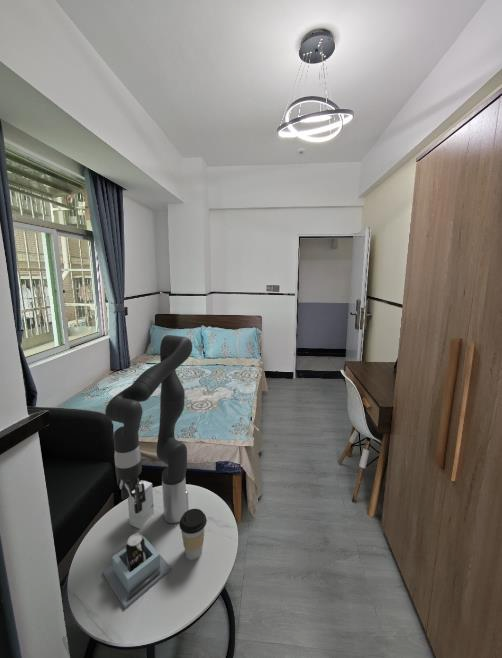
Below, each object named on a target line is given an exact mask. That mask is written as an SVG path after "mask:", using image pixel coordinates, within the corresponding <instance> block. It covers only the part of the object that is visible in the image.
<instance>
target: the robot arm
mask: <svg viewBox="0 0 502 658" xmlns="http://www.w3.org/2000/svg"><path fill="white" fill-rule="evenodd" d="M192 352H193V342H192V340H191V338H189V337H186V336H182V335H180V336H179V335H173V334H172V335H171V334H166V335H165V336H163V337H162V339H161V341H160V346H159V358H160V359H159V360H160V361H159V362H158V363H156V364H154V365H152V366H150V367H149V368H146V370H144V371H143V372H142V373H141V374H140V375H139V376H138V377H137V378H136V379H135V380H134V382H132V384H131V385H129V386H127V387H126V388H125V389H123V390H121V391H120V392H119V393H117V394H116V395H114V396H113V397H112V398H111V399H110V400H109V402H108V403H107V405H106V407H105V410H104V412H105V417H106V418H107V419H108V420H109V421H111V422H115V423H116V422H117V423H121V424H123V426H120V427H117V429H115V431H114V432H113V445H114V455H113V456H114V457H113V458H114V466H115V467H114V468H115V475H116V484H117V486H119V489H120V491H121V499H122V500H123V501H125V500H126V499H127V500H128V497H129V495H130V497H132V498H133V501H134V511H135V513H136V514H137V513H139V512H140V511H142V503H143V502H145V501H146V497H145V488H144V484H143V483H142V484H139V482H140V478H139V475H140V474H141V472H142V471H143V470H142V469H143V466H142V465H143V464H142V454H141V453H142V452H141V447H140V441H139V439H140V438H139V431H140V427H141V421H142V418H143V407H142V404H141V402H146V401H147V400H149V399H150V397H152V395H153V394H154V392H156V390H157V388H158V387H160V400H159V401H160V402H159V403H160V404H159V405H160V406H159V409H160V410H159V428H158V435H157V443H156V456H157V458H158V459H159V460H160V461H161V462H163V463H164V464H165V465H166V464H167V467H165V468H164V469H163V471H162V473H161V487H162V488H161V489H162V504H163V508H162V509H163V519H164V521H165V522H167V523H168V524H177V523H180V519H181V517H182V516H183V514H184V513H185V512H186V511H188V510H190V508H189V492H188V490H187V484H186V483H187V482H186V473H187V470H188V469H187V468H188V448H187V445H186V444H185V443H184V442H182V441H180V440H178V439H176V438H175V437H176V436H175V429H176V423H177V422H178V420H179V419H180V417H181V415H182V414H183V411H184V409H185V401H186V400H185V397H186V396H185V395H186V394H185V389H184V385H183V384H182V382H181V379H180V378H179V376H178V374H177V371H176V370H177V369H178V368H179V367H180V366H182V364H184V363H185V361H187V360H188V359H189V357H190V356H191V355H192ZM134 490H135V493H132V491H134ZM135 495H136V498H135Z"/></svg>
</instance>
